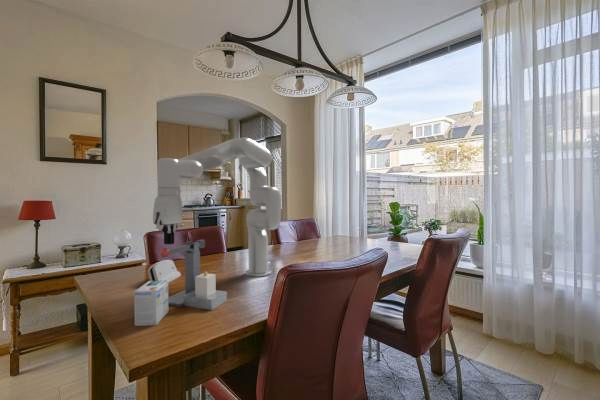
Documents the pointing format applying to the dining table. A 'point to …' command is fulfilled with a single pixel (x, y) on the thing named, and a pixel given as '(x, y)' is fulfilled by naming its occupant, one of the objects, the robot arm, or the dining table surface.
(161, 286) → the light bulb box
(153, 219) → the robot arm
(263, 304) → the dining table surface
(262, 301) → the dining table surface
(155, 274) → the white slotted curved casing
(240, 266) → the dining table surface
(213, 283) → the block
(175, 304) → the frame
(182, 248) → the lever
